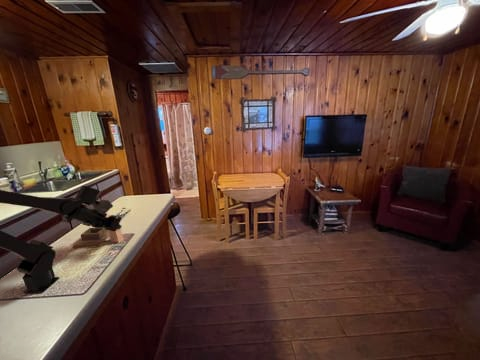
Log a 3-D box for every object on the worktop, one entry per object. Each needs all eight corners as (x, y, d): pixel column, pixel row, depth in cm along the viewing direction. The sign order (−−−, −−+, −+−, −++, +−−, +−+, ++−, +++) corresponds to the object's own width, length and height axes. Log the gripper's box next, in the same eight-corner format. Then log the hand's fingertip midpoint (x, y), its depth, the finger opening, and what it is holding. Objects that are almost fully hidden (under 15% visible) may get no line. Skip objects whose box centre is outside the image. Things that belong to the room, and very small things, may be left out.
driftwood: (119, 223, 111) (118, 220, 111) (106, 224, 111) (106, 221, 110) (134, 208, 131) (133, 205, 130) (123, 209, 130) (122, 206, 130)
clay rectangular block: (118, 243, 91) (112, 218, 88) (111, 241, 93) (104, 216, 90) (123, 240, 93) (117, 215, 90) (115, 238, 95) (109, 214, 92)
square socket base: (98, 246, 89) (96, 237, 88) (73, 248, 89) (70, 239, 88) (115, 230, 103) (113, 222, 102) (93, 231, 102) (91, 224, 101)
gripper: (112, 198, 80) (139, 212, 93) (82, 194, 87) (111, 208, 99) (97, 225, 75) (128, 236, 88) (66, 219, 82) (99, 230, 95)
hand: (116, 226), depth 93 cm, fingers closed on clay rectangular block, 5 cm apart
